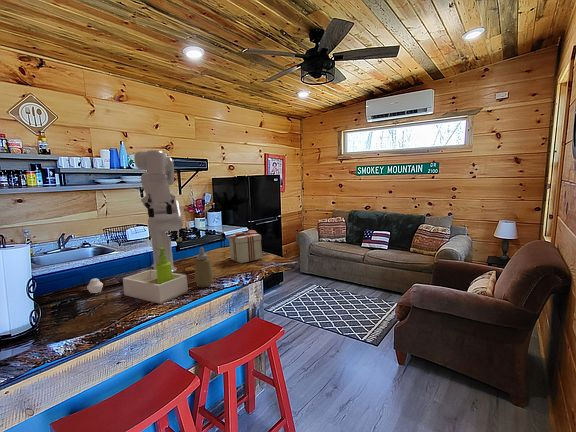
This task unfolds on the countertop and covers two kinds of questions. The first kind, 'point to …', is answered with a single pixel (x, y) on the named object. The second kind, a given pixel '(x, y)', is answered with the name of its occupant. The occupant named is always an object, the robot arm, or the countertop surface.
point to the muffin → (95, 286)
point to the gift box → (245, 246)
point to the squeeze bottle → (203, 270)
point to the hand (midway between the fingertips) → (160, 215)
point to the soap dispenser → (163, 267)
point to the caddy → (154, 286)
